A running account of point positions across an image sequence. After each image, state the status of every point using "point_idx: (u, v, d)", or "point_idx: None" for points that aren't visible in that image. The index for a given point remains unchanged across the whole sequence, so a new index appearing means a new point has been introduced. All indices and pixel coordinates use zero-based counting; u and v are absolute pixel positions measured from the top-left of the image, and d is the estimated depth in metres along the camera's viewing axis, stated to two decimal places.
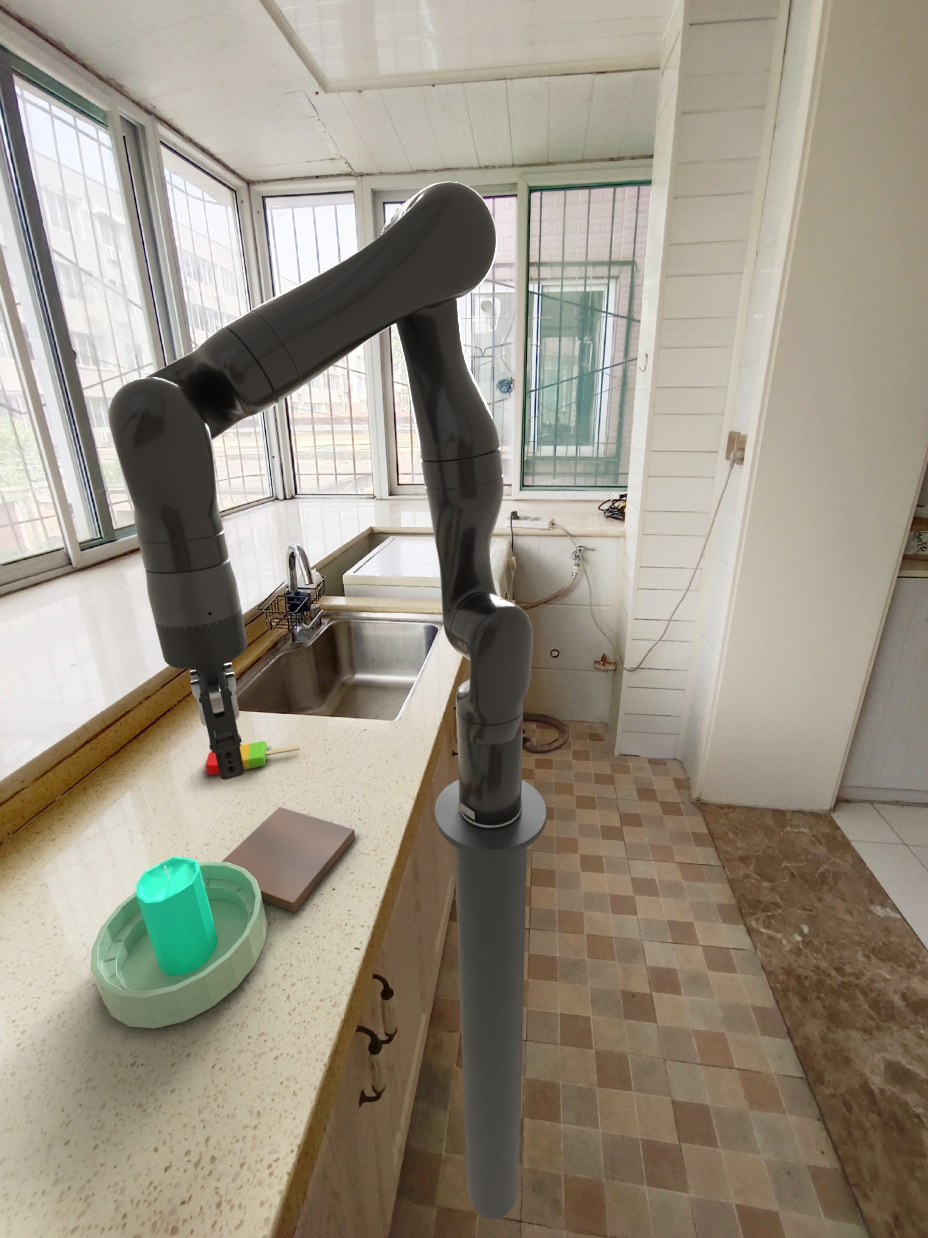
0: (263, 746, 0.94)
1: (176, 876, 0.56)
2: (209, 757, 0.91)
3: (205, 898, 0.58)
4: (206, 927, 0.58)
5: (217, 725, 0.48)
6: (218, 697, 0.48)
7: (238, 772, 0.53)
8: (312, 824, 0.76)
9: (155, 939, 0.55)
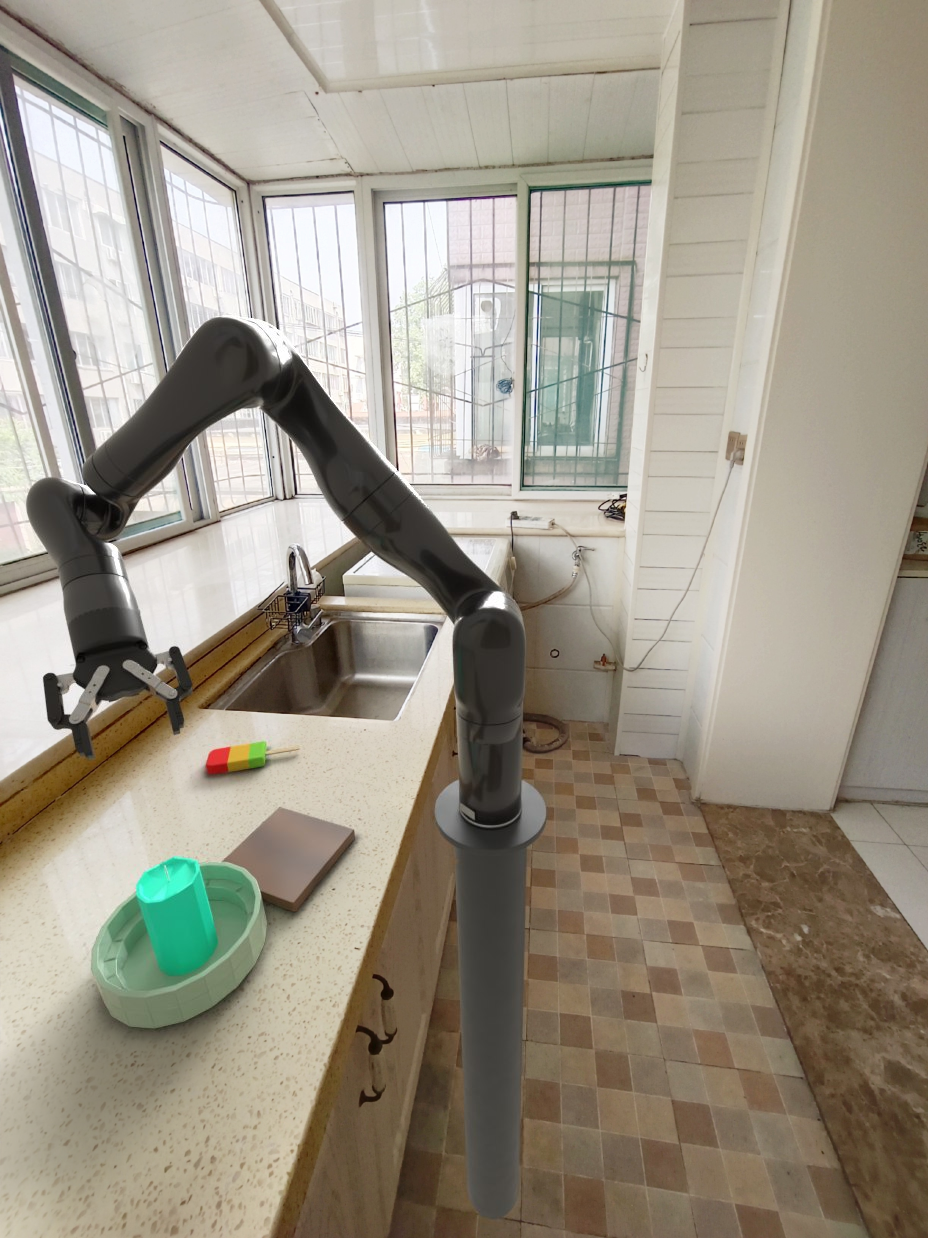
0: (263, 746, 0.94)
1: (176, 876, 0.56)
2: (209, 757, 0.91)
3: (205, 898, 0.58)
4: (206, 927, 0.58)
5: None
6: None
7: None
8: (312, 824, 0.76)
9: (155, 939, 0.55)
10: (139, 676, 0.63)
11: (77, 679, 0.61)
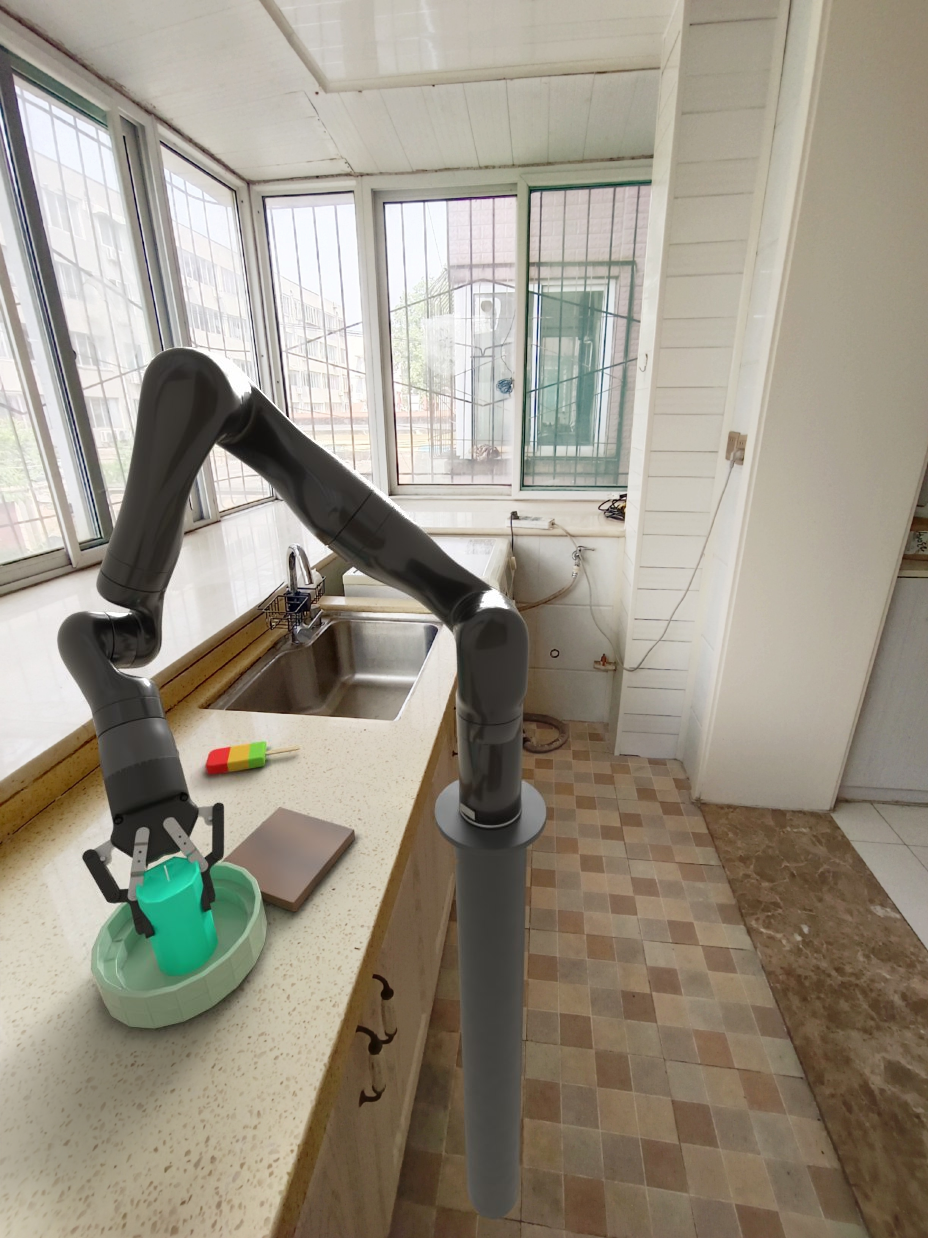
0: (263, 746, 0.94)
1: (176, 876, 0.56)
2: (209, 757, 0.91)
3: None
4: (206, 927, 0.58)
5: None
6: None
7: None
8: (312, 824, 0.76)
9: (155, 939, 0.55)
10: (176, 839, 0.58)
11: (115, 845, 0.56)
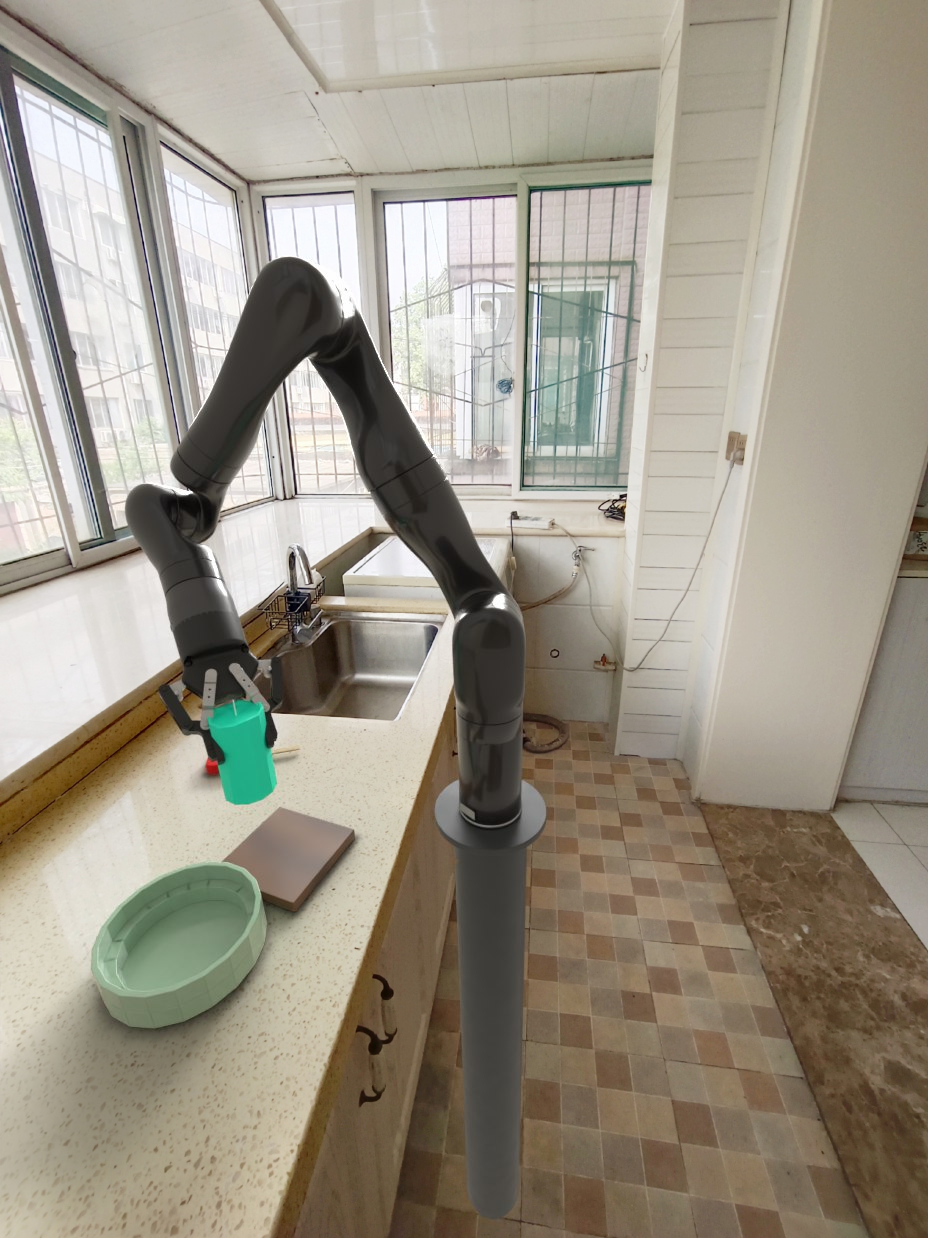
0: None
1: (242, 712, 0.61)
2: None
3: None
4: (268, 763, 0.63)
5: (171, 715, 0.60)
6: (159, 694, 0.60)
7: (210, 758, 0.59)
8: (312, 824, 0.76)
9: (224, 767, 0.60)
10: (240, 682, 0.63)
11: (186, 683, 0.61)
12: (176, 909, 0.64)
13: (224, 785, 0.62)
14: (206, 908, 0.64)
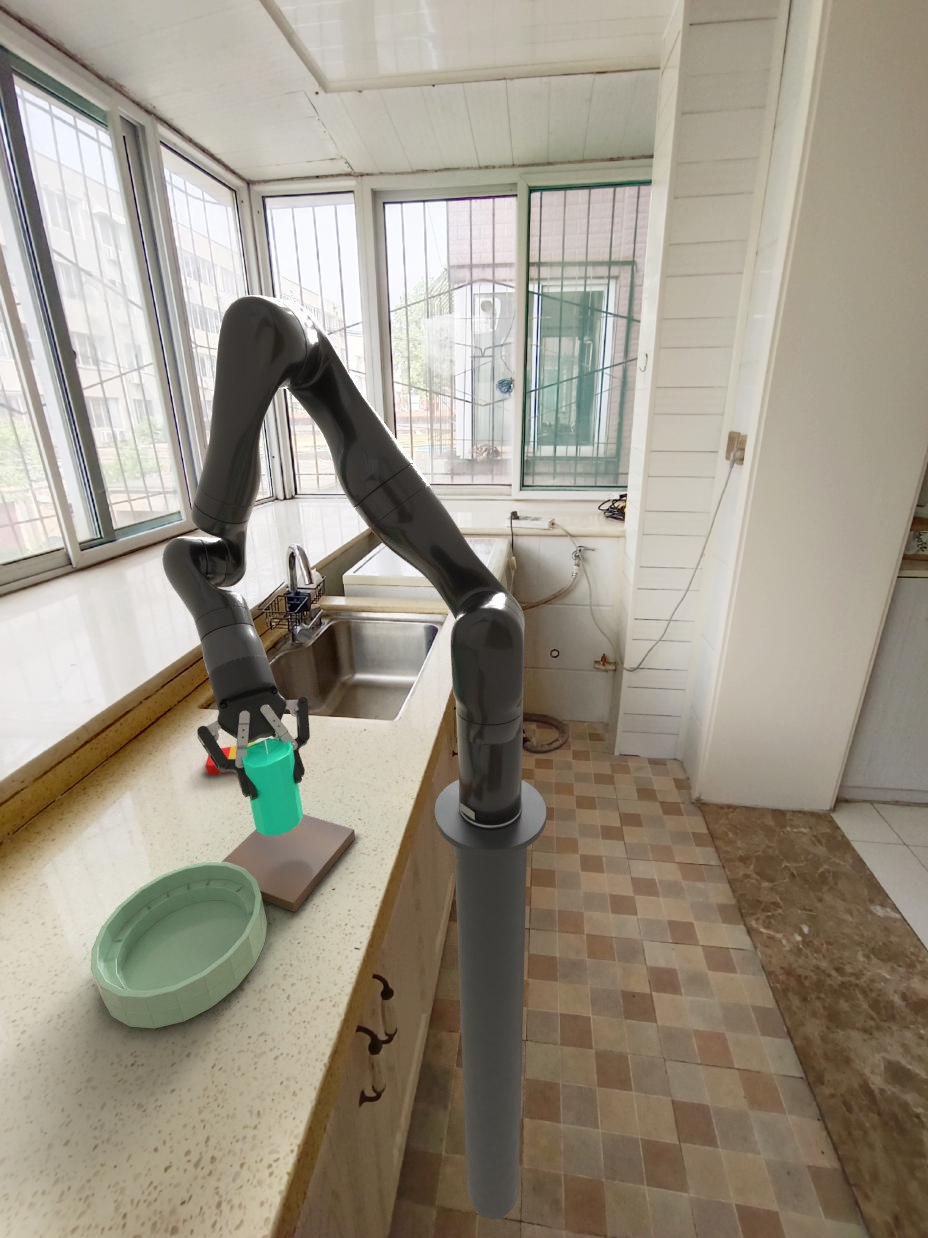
0: None
1: (273, 751, 0.67)
2: (209, 757, 0.91)
3: None
4: (296, 797, 0.68)
5: (209, 753, 0.66)
6: None
7: (244, 794, 0.64)
8: (312, 824, 0.76)
9: (257, 802, 0.66)
10: (271, 722, 0.68)
11: (222, 724, 0.67)
12: (176, 909, 0.64)
13: (256, 817, 0.67)
14: (206, 908, 0.64)
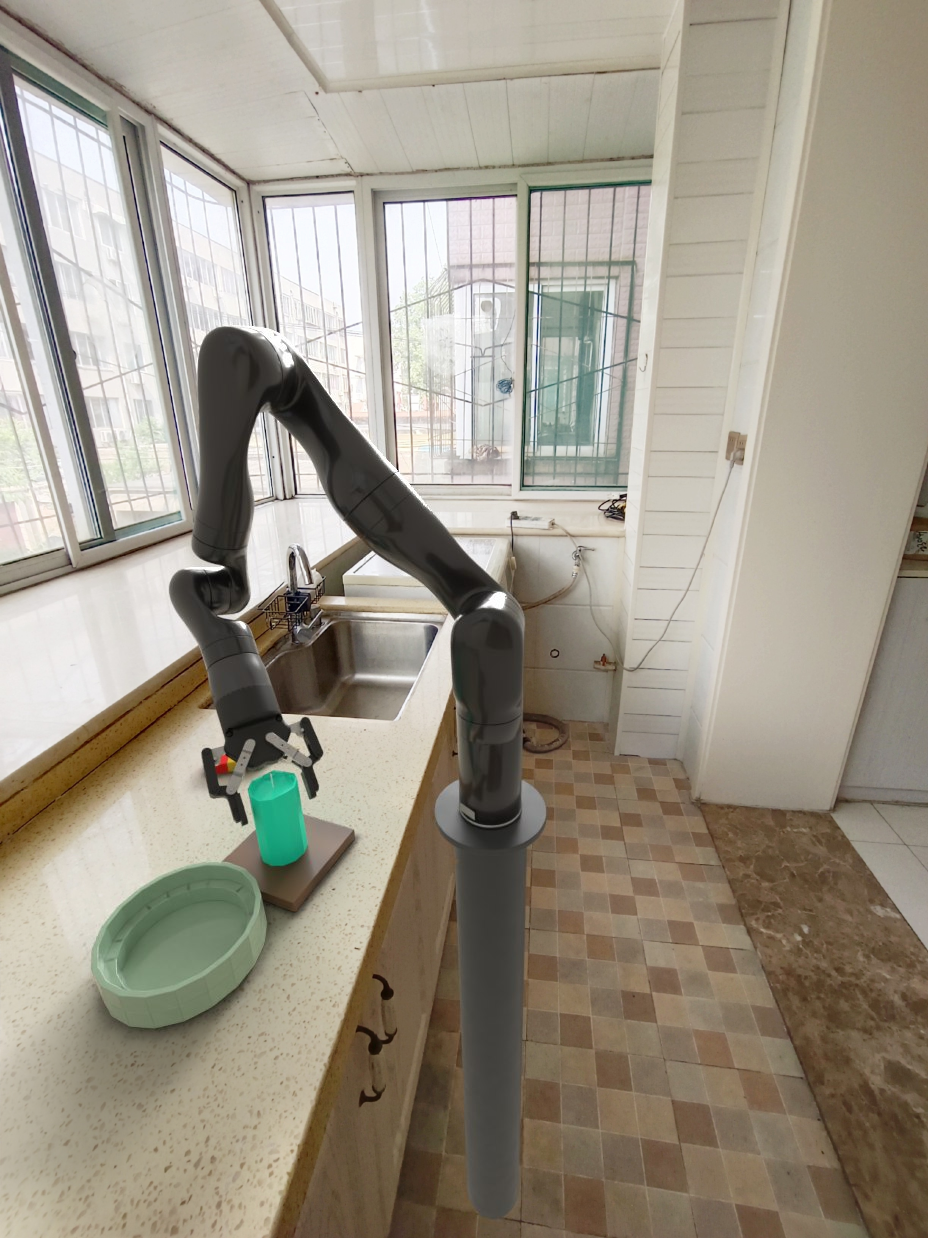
0: None
1: (278, 784, 0.69)
2: None
3: (300, 803, 0.70)
4: (301, 827, 0.70)
5: (205, 776, 0.67)
6: (201, 754, 0.67)
7: (235, 820, 0.65)
8: (312, 824, 0.76)
9: (263, 833, 0.68)
10: (280, 747, 0.70)
11: (228, 752, 0.68)
12: (176, 909, 0.64)
13: (262, 848, 0.69)
14: (206, 908, 0.64)
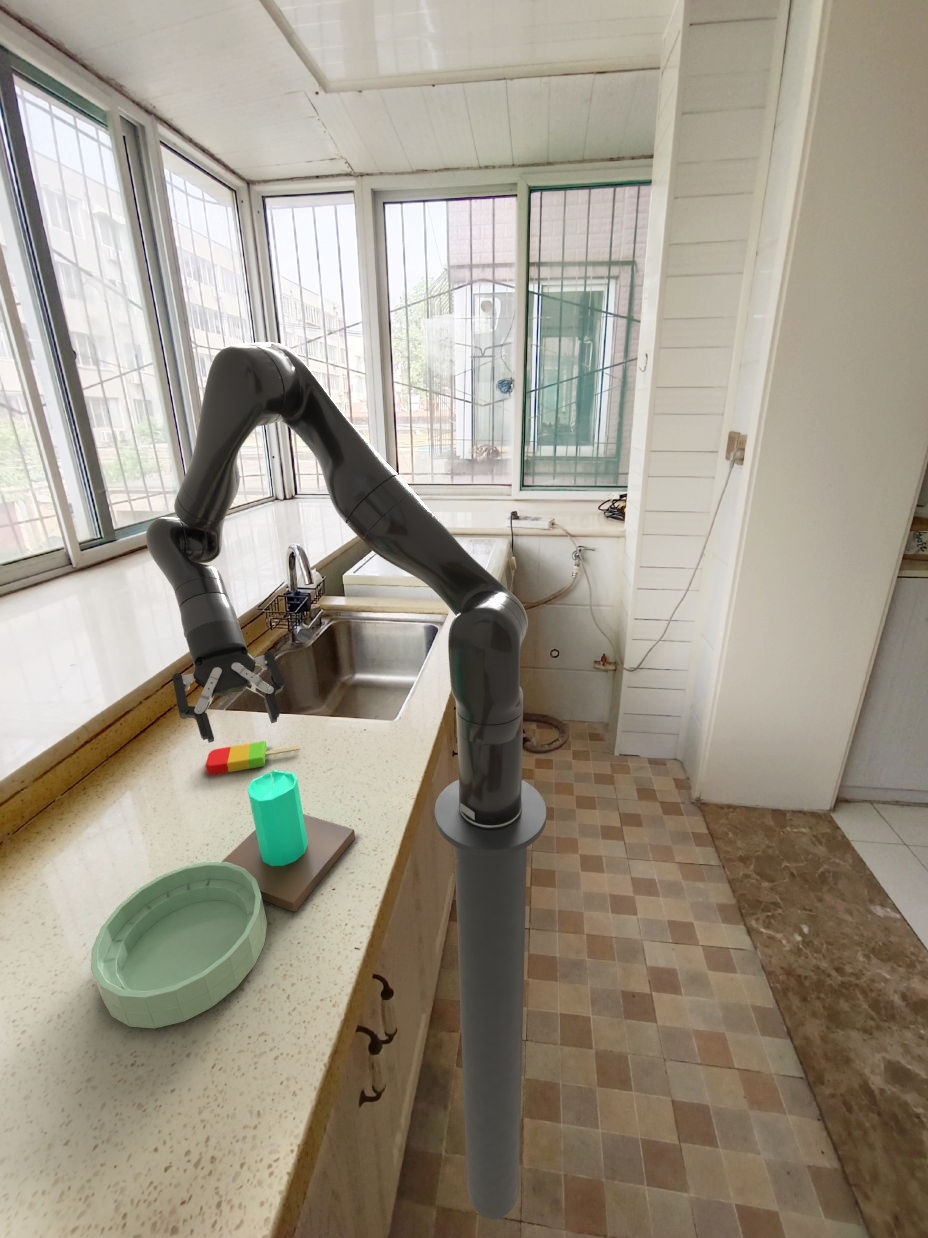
0: (263, 746, 0.94)
1: (278, 784, 0.69)
2: (209, 757, 0.91)
3: (300, 803, 0.70)
4: (301, 827, 0.70)
5: (176, 698, 0.75)
6: None
7: (202, 736, 0.73)
8: (312, 824, 0.76)
9: (263, 833, 0.68)
10: (244, 676, 0.78)
11: (197, 678, 0.76)
12: (176, 909, 0.64)
13: (262, 848, 0.69)
14: (206, 908, 0.64)
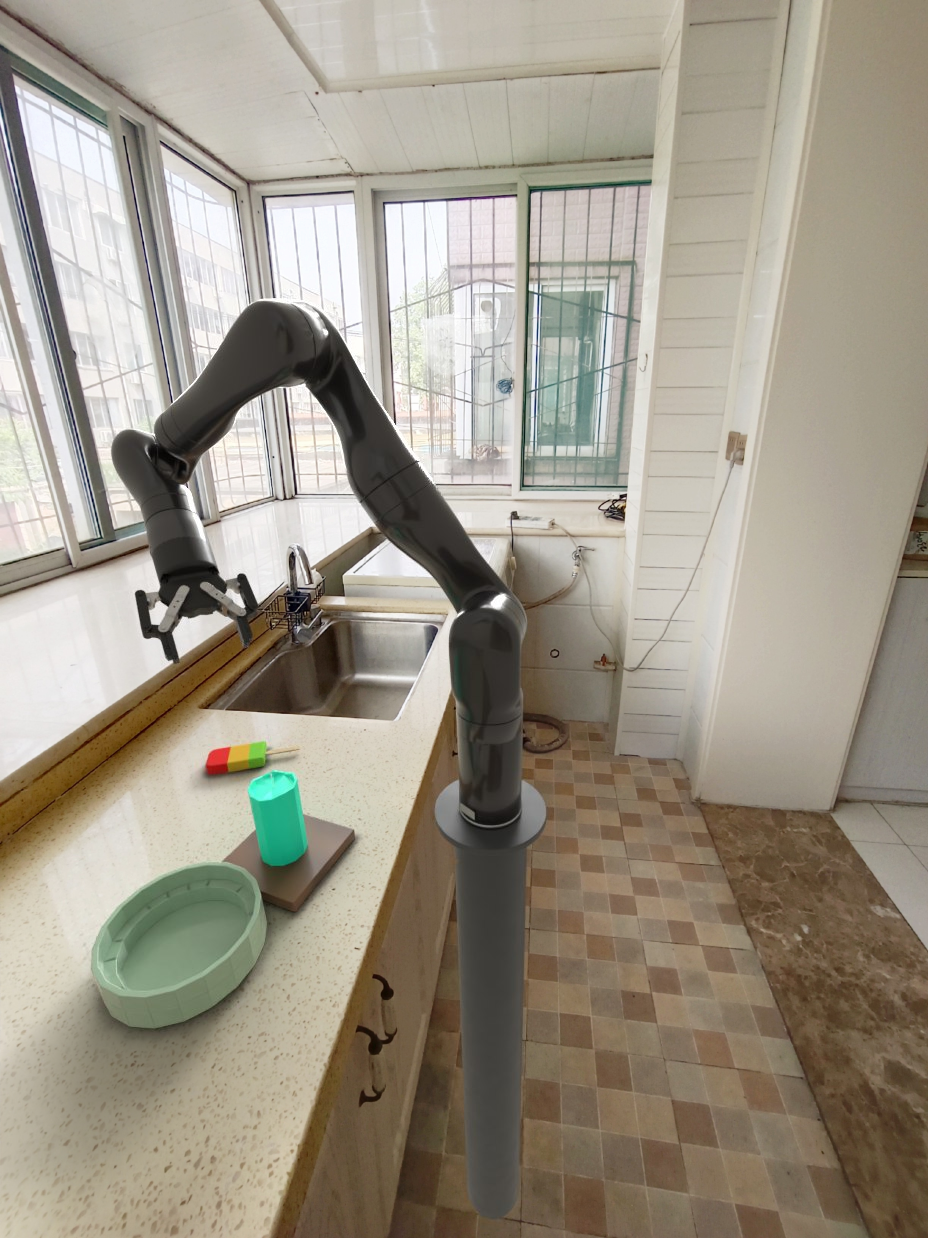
0: (263, 746, 0.94)
1: (278, 784, 0.69)
2: (209, 757, 0.91)
3: (300, 803, 0.70)
4: (301, 827, 0.70)
5: None
6: None
7: (166, 655, 0.67)
8: (312, 824, 0.76)
9: (263, 833, 0.68)
10: (214, 596, 0.72)
11: (162, 596, 0.70)
12: (176, 909, 0.64)
13: (262, 848, 0.69)
14: (206, 908, 0.64)
